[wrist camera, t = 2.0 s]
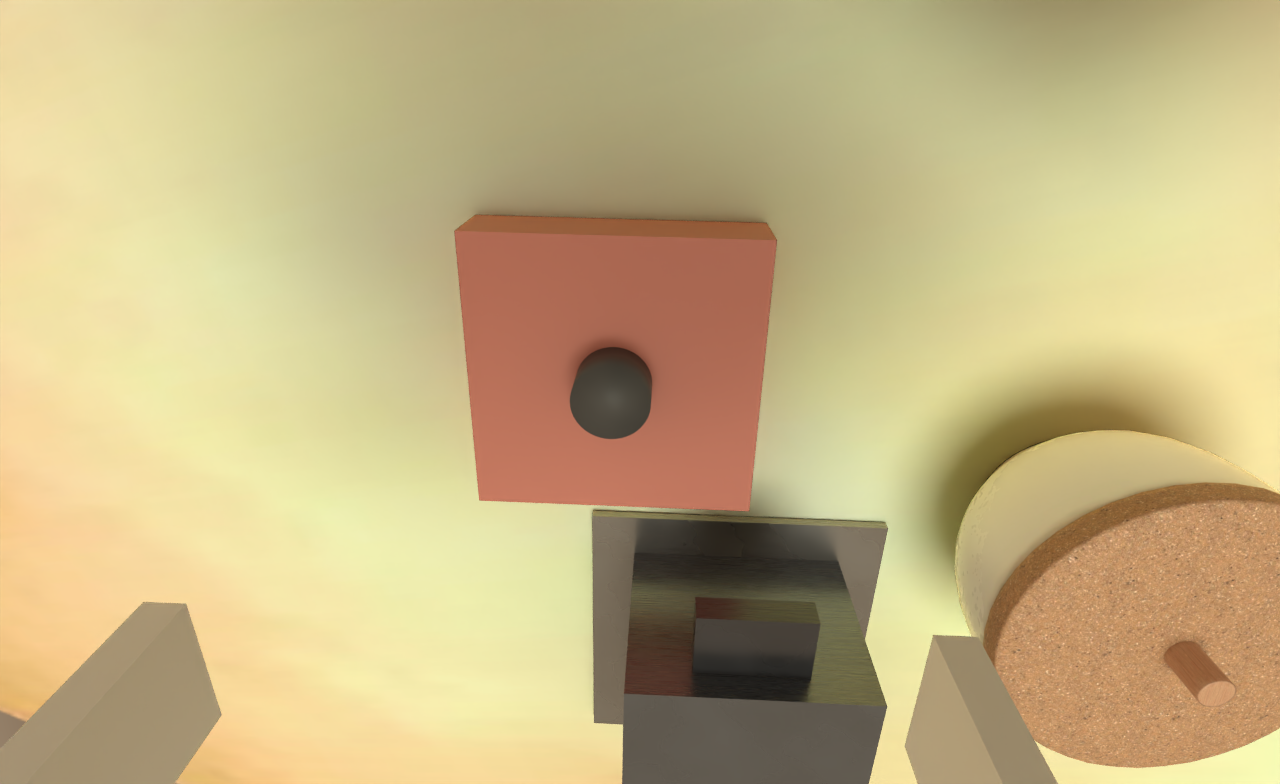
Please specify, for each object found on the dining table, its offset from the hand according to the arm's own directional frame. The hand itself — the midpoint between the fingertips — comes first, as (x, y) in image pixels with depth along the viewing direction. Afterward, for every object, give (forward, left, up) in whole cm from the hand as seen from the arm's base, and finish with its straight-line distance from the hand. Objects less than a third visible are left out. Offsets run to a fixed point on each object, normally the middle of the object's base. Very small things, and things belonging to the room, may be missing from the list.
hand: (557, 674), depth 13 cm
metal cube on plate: (+13, +5, -15) cm, 20 cm away
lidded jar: (+6, +18, -15) cm, 24 cm away
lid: (0, 0, -16) cm, 16 cm away
